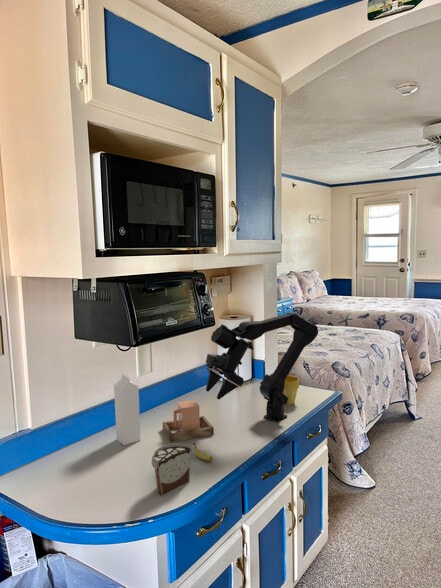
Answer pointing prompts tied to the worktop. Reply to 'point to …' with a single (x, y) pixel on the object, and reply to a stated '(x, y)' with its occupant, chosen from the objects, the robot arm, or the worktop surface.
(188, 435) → the frame
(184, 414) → the peach box with tab
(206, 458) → the banana
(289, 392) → the plant pot
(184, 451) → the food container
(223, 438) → the worktop surface
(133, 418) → the milk
